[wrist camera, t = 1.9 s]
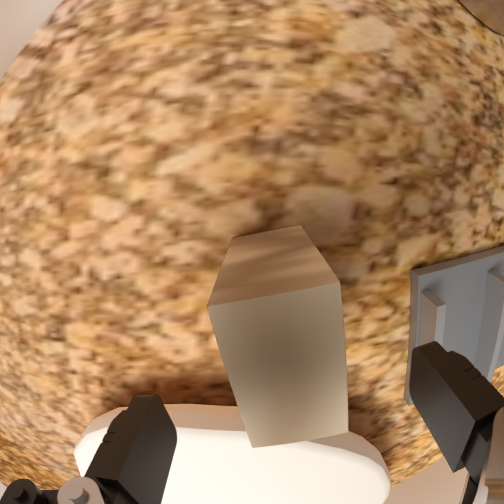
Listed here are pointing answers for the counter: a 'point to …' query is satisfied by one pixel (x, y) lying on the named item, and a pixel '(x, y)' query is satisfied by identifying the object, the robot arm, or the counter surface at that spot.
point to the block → (282, 337)
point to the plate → (254, 463)
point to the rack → (460, 309)
